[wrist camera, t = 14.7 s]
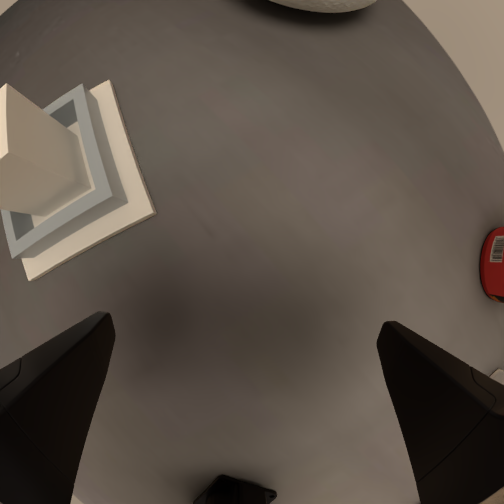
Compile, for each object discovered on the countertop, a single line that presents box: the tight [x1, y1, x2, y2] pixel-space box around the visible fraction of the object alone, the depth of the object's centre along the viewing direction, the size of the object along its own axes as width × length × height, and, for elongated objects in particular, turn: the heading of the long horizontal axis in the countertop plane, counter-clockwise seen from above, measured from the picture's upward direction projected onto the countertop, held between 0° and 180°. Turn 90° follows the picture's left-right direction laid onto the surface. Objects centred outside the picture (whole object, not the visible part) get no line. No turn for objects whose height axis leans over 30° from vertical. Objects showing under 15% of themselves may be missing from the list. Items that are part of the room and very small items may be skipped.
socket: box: [1, 80, 157, 281], centre depth 18 cm, size 13×13×4 cm
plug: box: [0, 83, 91, 217], centre depth 14 cm, size 5×5×10 cm
